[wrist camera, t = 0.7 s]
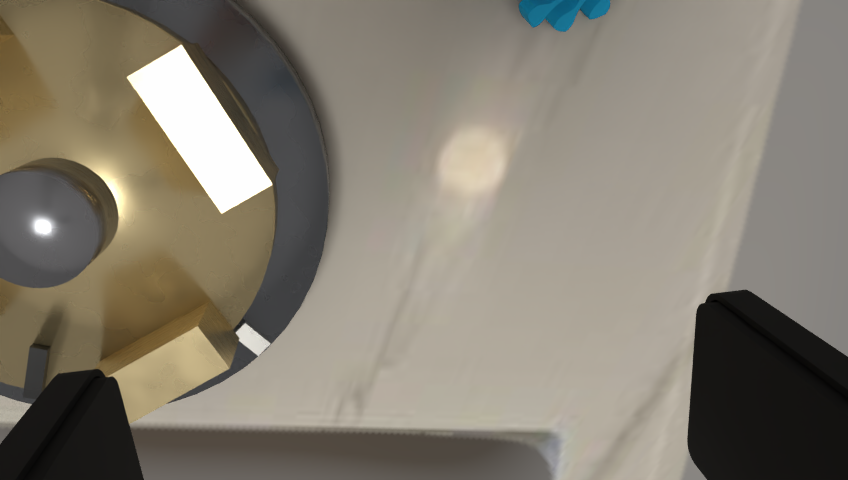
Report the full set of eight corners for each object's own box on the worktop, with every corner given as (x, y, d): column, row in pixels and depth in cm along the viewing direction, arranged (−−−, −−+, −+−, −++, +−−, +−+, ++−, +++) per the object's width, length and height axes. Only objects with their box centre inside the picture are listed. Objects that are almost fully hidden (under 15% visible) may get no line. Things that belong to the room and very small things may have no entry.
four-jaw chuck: (-133, -70, 27) (-233, -90, 22) (317, 61, 31) (313, 68, 26) (-153, 336, 32) (-237, 390, 28) (235, 407, 36) (218, 465, 31)
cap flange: (-142, -138, 29) (-199, -157, 26) (379, 24, 34) (382, 24, 31) (-162, 336, 36) (-209, 365, 32) (276, 416, 40) (271, 448, 37)
